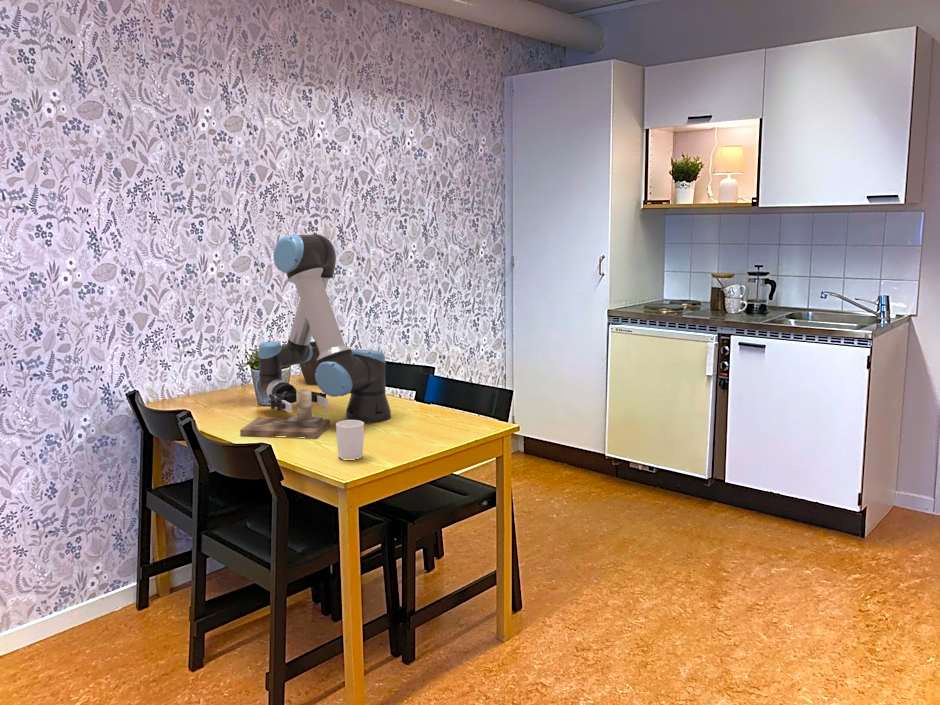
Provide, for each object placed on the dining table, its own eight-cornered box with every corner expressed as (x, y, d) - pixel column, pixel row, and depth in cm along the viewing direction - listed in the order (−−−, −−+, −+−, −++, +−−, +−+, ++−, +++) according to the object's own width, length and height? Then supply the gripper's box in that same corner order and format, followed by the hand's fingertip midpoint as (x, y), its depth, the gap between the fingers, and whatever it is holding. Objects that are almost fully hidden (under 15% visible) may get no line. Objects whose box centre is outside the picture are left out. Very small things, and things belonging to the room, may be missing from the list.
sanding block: (322, 423, 257) (322, 389, 255) (317, 428, 251) (316, 393, 249) (292, 422, 258) (291, 388, 256) (286, 427, 252) (285, 392, 250)
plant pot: (289, 385, 321) (288, 345, 319) (308, 378, 335) (307, 340, 333) (322, 388, 317) (321, 348, 314) (340, 380, 331) (339, 342, 328)
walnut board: (330, 425, 262) (330, 419, 262) (316, 438, 246) (316, 432, 246) (258, 422, 264) (258, 416, 264) (240, 436, 249) (240, 429, 248)
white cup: (368, 454, 231) (368, 421, 229) (357, 462, 223) (357, 428, 222) (343, 452, 233) (343, 418, 231) (331, 460, 226) (331, 425, 224)
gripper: (315, 399, 275) (344, 412, 258) (247, 408, 262) (273, 423, 244) (314, 378, 274) (343, 389, 256) (246, 386, 260) (272, 399, 243)
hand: (309, 406), depth 250 cm, fingers open, 11 cm apart
